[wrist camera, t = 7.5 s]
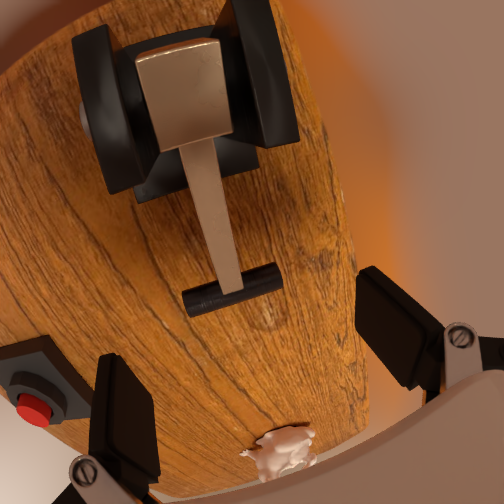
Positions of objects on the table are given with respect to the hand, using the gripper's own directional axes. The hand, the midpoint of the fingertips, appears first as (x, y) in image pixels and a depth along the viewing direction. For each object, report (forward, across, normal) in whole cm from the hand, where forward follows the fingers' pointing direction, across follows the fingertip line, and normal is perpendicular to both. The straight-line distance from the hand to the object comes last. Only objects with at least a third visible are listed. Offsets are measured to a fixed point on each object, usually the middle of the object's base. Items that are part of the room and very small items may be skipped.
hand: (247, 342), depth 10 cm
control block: (+11, +22, +10) cm, 26 cm away
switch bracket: (+11, 0, -8) cm, 14 cm away
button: (+8, +22, +10) cm, 25 cm away
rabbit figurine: (+11, +1, +32) cm, 34 cm away
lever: (+4, 0, -5) cm, 6 cm away
